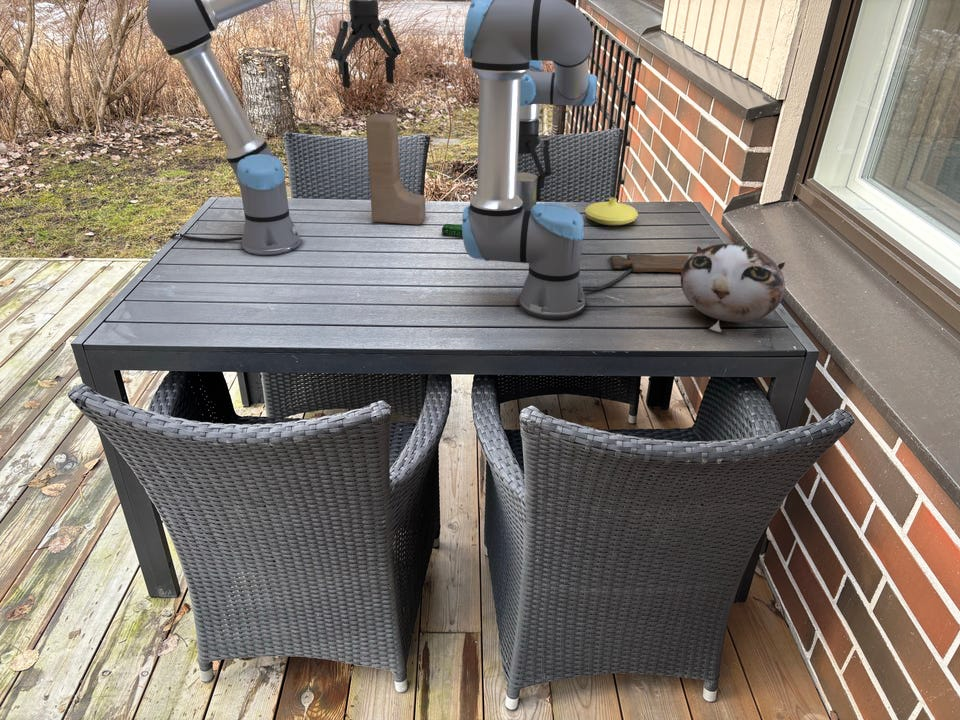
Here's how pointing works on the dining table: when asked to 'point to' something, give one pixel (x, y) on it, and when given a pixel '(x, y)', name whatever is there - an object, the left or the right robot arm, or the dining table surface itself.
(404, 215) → the decorative block
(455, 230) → the handgun
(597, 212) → the yellow knobbed lid
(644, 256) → the dark wooden board
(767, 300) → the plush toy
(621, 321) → the dining table surface
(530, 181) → the can
